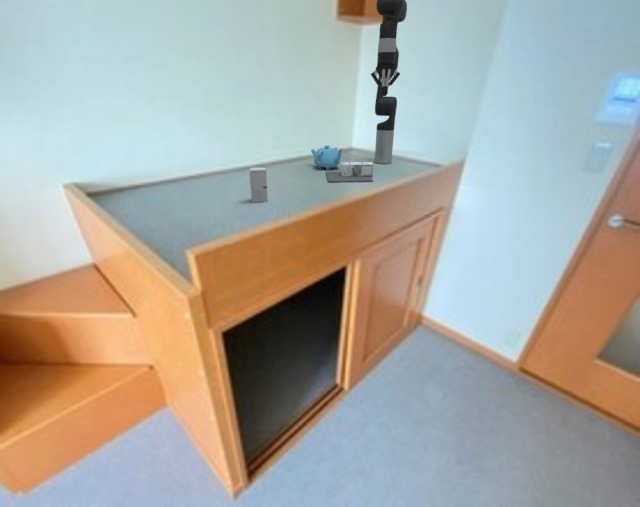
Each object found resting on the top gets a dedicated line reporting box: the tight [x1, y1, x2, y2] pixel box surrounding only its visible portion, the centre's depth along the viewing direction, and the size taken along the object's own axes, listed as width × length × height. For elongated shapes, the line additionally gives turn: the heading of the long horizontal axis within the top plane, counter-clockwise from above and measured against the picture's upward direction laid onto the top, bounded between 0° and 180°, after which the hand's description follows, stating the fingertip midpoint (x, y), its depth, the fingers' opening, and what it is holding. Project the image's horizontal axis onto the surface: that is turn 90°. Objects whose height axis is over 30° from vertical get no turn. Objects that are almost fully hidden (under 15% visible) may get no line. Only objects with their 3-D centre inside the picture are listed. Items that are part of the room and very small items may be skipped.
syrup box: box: [340, 161, 374, 178], centre depth 164 cm, size 6×6×14 cm
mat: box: [325, 171, 374, 184], centre depth 165 cm, size 18×20×1 cm
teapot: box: [310, 144, 344, 171], centre depth 180 cm, size 15×14×11 cm
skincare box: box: [248, 166, 269, 203], centre depth 131 cm, size 6×4×12 cm
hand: (383, 96), depth 156 cm, fingers closed
